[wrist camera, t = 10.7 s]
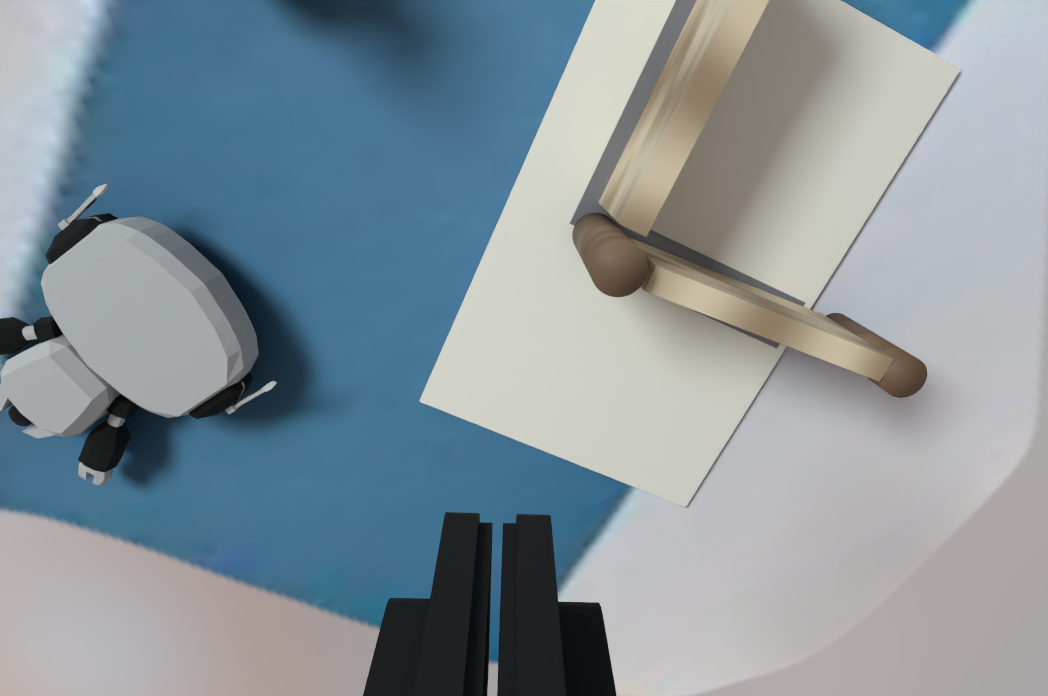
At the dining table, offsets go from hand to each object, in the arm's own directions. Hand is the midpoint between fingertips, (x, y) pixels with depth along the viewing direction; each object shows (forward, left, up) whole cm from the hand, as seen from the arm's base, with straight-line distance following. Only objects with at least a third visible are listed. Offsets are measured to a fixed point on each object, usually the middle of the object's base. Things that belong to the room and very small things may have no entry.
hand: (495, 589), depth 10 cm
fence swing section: (-4, +12, -25) cm, 29 cm away
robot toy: (+13, -17, -27) cm, 34 cm away
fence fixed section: (-10, +4, -26) cm, 29 cm away
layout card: (-4, +8, -26) cm, 28 cm away
